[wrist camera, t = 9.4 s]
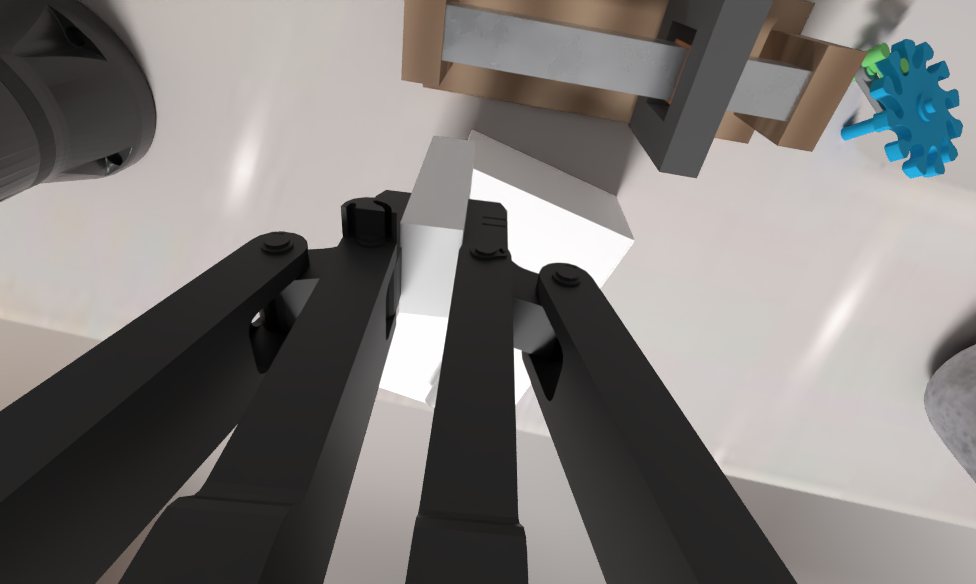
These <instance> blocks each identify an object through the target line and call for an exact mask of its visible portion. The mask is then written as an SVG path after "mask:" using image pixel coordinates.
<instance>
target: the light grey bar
mask: <svg viewBox="0 0 976 584" xmlns="http://www.w3.org/2000/svg"><path fill="white" fill-rule="evenodd" d="M692 43H693V41H687V40H682V39H675V42H672V41H666V40H661V39H655V38H650V37H644V36H639V35H634V34H628V33H623V32H617V31H612V30H606V29H601V28H595V27H590V26H584V25H579V24H573V23H568V22H563V21H557V20H552V19H546V18H541V17H535V16H530V15H524V14H519V13H513V12H508V11H503V10H497V9H492V8H486V7H481V6H475V5H470V4H464V3H459V2H453V1H452V2H450V3H448V4H447V5H446V15H445V26H444V38H443V49H442V60H444V61H449V62H455V63H461V64H466V65H472V66H478V67H483V68H489V69H494V70H500V71H506V72H511V73H517V74H523V75H528V76H534V77H539V78H545V79H551V80H556V81H562V82H568V83H573V84H579V85H585V86H590V87H596V88H601V89H607V90H613V91H618V92H624V93H630V94H635V95H641V96H647V97H652V98H658V99H663V100H666V101H667V102H668V103H669V104H671V101H672V98H673V95H674V93H675V90H676V87H677V84H678V82H679V79H680V76H681V73H682V71H683V68H684V65H685V62H686V60H687V57H688V54H689V51H690V49H691V46H692ZM811 74H812V71H809V70H807V69H804V68H801V67H799V66H796V65H793V64H791V63H786V62H781V61H775V60H770V59H764V58H759V57H754V56H749V58H748V61H747V63H746V65H745V68H744V70H743V72H742V75H741V77H740V79H739V82H738V84H737V86H736V88H735V91H734V93H733V95H732V98H731V100H730V102H729V105H728V107H727V109H726V111H731V112H737V113H742V114H748V115H754V116H759V117H765V118H771V119H776V120H782V121H788V119H789V117H790V115H791V113H792V111H793V109H794V107H795V105H796V103H797V101H798V99H799V97H800V95H801V93H802V91H803V89H804V87H805V85H806V84H807V82H808V80H809V78H810V76H811Z"/></svg>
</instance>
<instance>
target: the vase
mask: <svg viewBox="0 0 976 584" xmlns="http://www.w3.org/2000/svg"><path fill="white" fill-rule="evenodd" d="M924 405H925V410H926V413H927V416H928V418H929V421H930V422H931V424H932V426H933V428H934V429H935V431H936V433H937V434H938V435H939V437H940V438H941V440H942V441H943V442H944V444H945V445H946V447H947V448H948V449H949V450H950V452H951V453H952V454H953V455H954V457H955V458H956V459H957V460H958V462H959V463H960V464H961V466H962V467H963V468H964V469H965V470H966V472H967V473H968V474H969V475H970V476H971V478H972V479H973V480H974V481H975V482H976V344H975V345H973V346H971V347H969V348H966V349H964V350H962V351H961V352H959V353H957V354H956V355H954V356H953V357H952V358H950V359H949V360H948V361H946V362H945V363H944V364H943V365H942V366H941V367H940V368H939V369H938V370H937V371H936V372H935V373H934V375H933V376H932V378H931V379H930V381H929V382H928V384H927V387H926V391H925V394H924Z"/></svg>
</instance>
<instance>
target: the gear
mask: <svg viewBox="0 0 976 584" xmlns="http://www.w3.org/2000/svg"><path fill="white" fill-rule="evenodd" d="M864 52H868V53H867V55H866V57H865V59H864V61H863V62H862V64H861V66H860V68H859V69H858V71H857V73H856V75H855V77H854V78H853V80H852V82H853V81H855V80H856V82H857V83H858V85H859V86H860V88H861V89H862V91H863V92H864V94H865V96H866V97H867V99H868V100H869V102H870V103H871V105H872V106H873V108H874V110H875V111H876V114H874V115H873V118H871V119H868V120H865V121H862V122H860V123H857V124H854V125H851V126H848V127H845V128H843V129H842V130H841V136H842V138H843V139H844V140H849V139H852V138H855V137H858V136H861V135H864V134H867V133H870V132H873V131H876V132H881V131H884V130H892V131H894V132H895V133H896V134H897V137H898V141H895V142H892V143H888V144H886V145H885V147H884V148H885V152H886V155H887V157H888V159H889V161H890V162H892V161H896V160H900V159H904V158H906V157H907V156H908V154H909V151H910V153H911V156H910V159H909V160H907V161H905V162H904V163H903V166H902V170H903V172H904V173H905V174H906V175H907V176H908V177H909V178H915V177H919V176H923V177H932V176H936V175H940V174H944V172H945V168H944V164H943V163H946V162H950V161H953V160H955V158H956V157H957V156H958V152H957V149H956V148H955V146H954V145H953V144H952V142H951V140H950V139H953V138H957V137H960V136H961V133H962V128H963V125H962V123H961V121H960V120H957V119H955V118H954V117H952V115H951V114H950V113H949V111H948V109H951V108H954V107H957V106H959V94H958V91H957V90H956V89H953V90H951V91H948V92H947V91H944V90H943V89H941V88H940V87H939V85H938V81H940V80H943V79H946V78H948V77H949V75H950V74H949V70H948V67H947V65H946V62H945V61H941V62H939V63H936V64H934V65H931V66H929V67H928V68H927V69H926V61H927V60H930V59H932V58H933V53H934V52H933V50H932V48H931V47H930V45H929V44H928V43H927V42H924V43H922V44H919V45H917V46H915V43H914V42H913V41H912V40H908V39H905V40H903V41H901V42H898V43H896V44H894V45H892V47H891V53H890V51H889V47H888V45H887V44H886V43H882V44H879V45H877V46H875V47H873V48H871V49H869V50H867V51H864ZM877 73H878V74H879V76H880V78H879V77H878V76H877Z"/></svg>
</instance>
